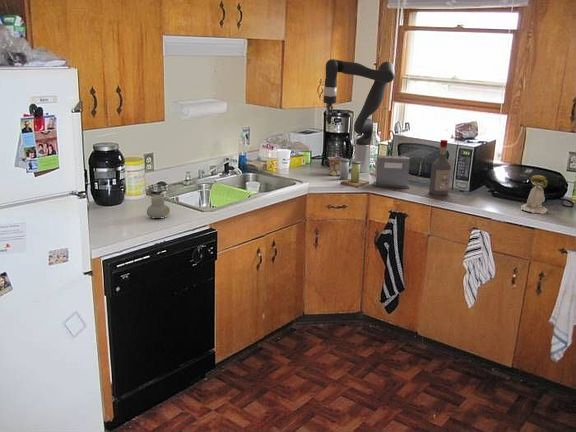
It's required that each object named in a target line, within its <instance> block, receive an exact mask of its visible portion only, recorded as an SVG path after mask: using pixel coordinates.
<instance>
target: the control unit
mask: <svg viewBox="0 0 576 432" xmlns="http://www.w3.org/2000/svg"><path fill="white" fill-rule="evenodd" d="M376 156H377V157H376V169H375V180H374V181H373V187H374V188H387V189H388V188H390V189H392V188H393V189H410V184H409V173H410V172H409V170H410V159H411V158H410V157H409V156H404V155H402V156H400V155H382V154H381V155H380V154H377V155H376Z"/></svg>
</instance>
